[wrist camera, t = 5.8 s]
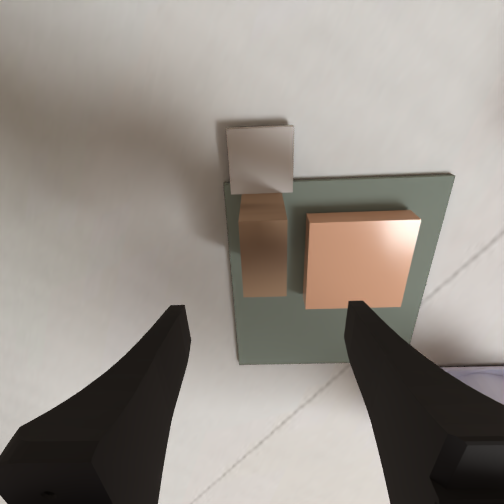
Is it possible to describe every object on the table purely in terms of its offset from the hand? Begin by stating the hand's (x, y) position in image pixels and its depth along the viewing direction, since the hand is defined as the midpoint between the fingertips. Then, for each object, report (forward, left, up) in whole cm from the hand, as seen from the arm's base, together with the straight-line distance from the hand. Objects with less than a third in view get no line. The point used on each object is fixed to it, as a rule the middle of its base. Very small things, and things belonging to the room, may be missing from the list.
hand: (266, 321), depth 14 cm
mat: (-5, +5, -10) cm, 13 cm away
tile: (-7, +6, -9) cm, 13 cm away
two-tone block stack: (0, -2, -10) cm, 10 cm away
